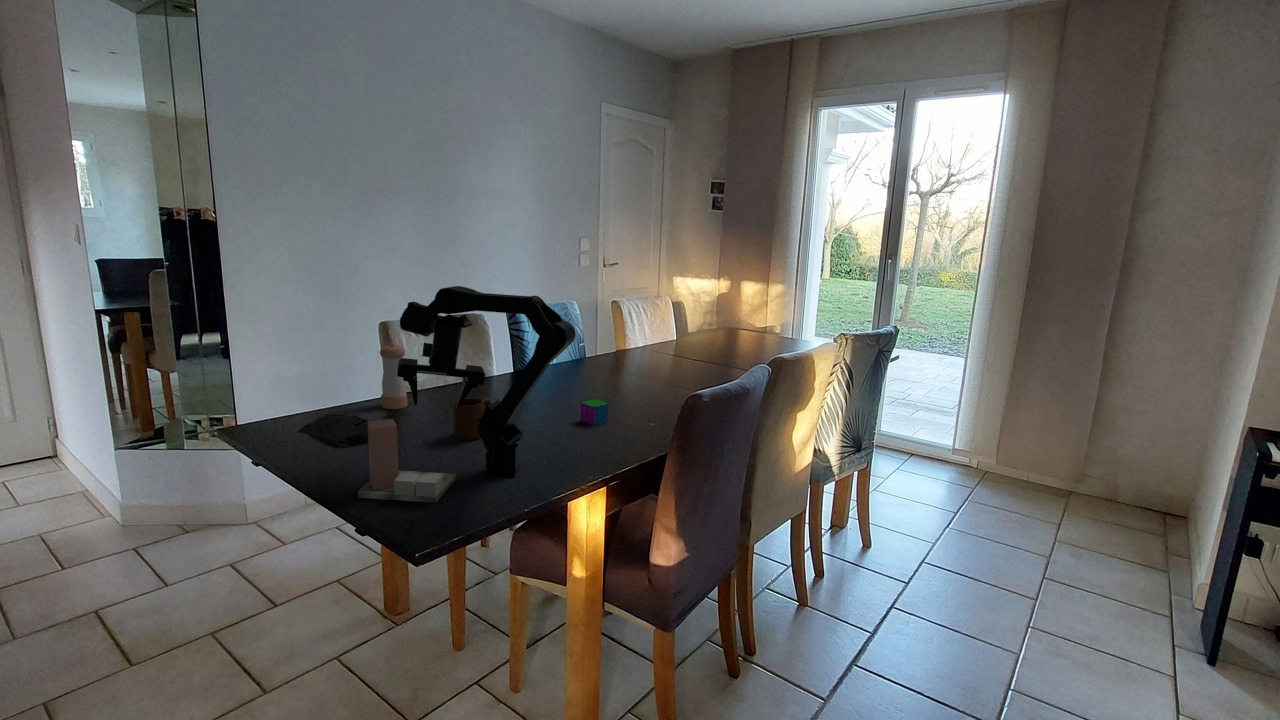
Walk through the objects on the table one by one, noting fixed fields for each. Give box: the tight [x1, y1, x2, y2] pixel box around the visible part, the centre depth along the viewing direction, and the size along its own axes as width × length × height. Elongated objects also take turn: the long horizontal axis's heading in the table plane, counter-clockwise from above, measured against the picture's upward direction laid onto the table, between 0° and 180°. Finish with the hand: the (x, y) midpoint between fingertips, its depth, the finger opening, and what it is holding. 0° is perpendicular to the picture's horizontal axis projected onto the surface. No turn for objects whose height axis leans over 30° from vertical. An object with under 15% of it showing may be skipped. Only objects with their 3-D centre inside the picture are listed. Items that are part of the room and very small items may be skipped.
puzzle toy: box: [579, 398, 610, 426], centre depth 182 cm, size 6×6×6 cm
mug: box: [453, 397, 492, 441], centre depth 166 cm, size 12×8×9 cm, turn 152°
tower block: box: [367, 418, 399, 490], centre depth 129 cm, size 5×5×13 cm
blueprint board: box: [357, 470, 457, 503], centre depth 132 cm, size 16×12×1 cm
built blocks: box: [394, 473, 443, 497], centre depth 127 cm, size 8×4×3 cm, turn 87°
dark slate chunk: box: [298, 413, 369, 449], centre depth 163 cm, size 15×22×5 cm
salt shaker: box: [379, 342, 408, 410], centre depth 186 cm, size 7×7×19 cm
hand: (436, 406), depth 143 cm, fingers open, 9 cm apart
